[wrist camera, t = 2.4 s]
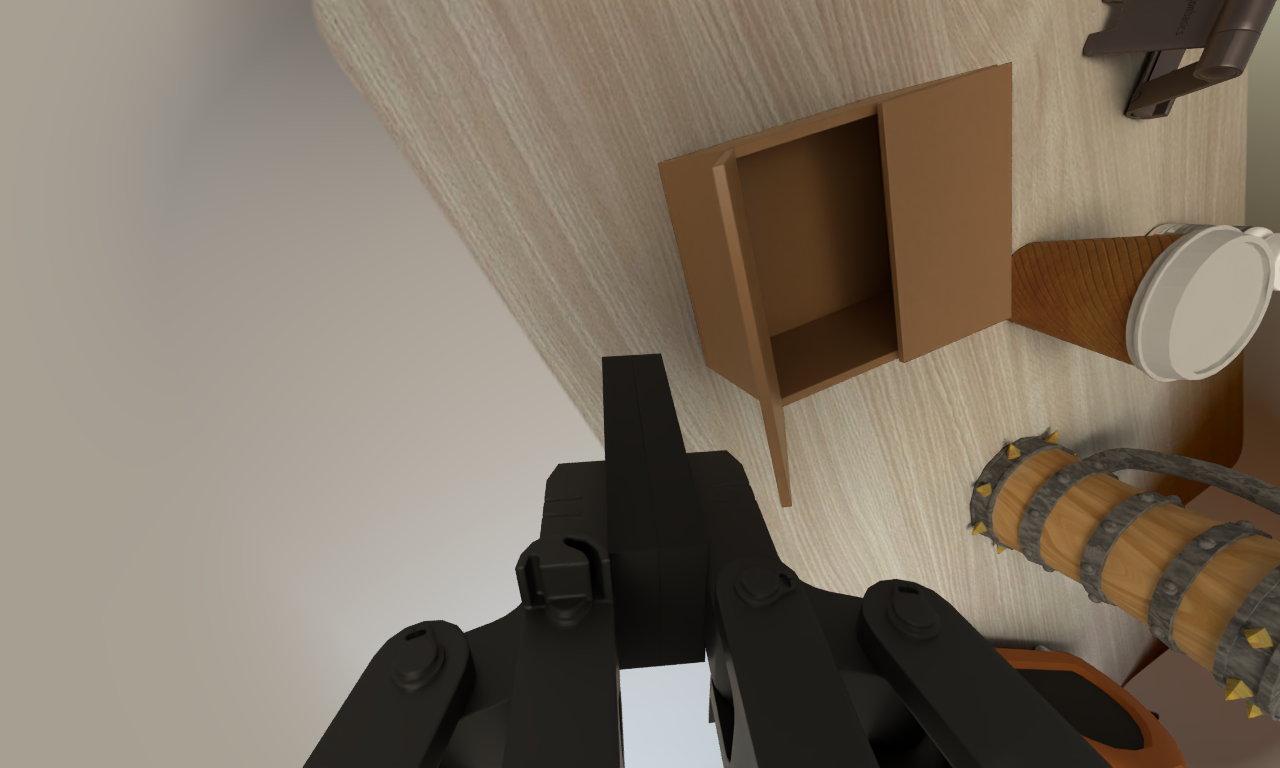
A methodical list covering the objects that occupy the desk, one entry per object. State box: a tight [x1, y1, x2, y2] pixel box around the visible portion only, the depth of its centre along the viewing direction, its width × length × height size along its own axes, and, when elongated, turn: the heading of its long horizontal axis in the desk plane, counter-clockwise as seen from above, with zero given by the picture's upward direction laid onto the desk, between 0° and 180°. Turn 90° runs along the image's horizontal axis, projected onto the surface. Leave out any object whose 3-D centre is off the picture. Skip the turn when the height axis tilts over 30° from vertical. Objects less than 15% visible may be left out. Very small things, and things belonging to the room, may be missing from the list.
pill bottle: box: [1147, 224, 1280, 291], centre depth 42 cm, size 5×5×8 cm
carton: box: [658, 62, 1012, 406], centre depth 30 cm, size 13×15×9 cm
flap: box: [712, 149, 792, 507], centre depth 22 cm, size 13×7×1 cm
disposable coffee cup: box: [1007, 225, 1275, 381], centre depth 37 cm, size 10×10×12 cm
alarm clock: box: [995, 645, 1186, 768], centre depth 50 cm, size 23×9×17 cm, turn 70°
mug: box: [970, 430, 1280, 721], centre depth 41 cm, size 13×17×20 cm
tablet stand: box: [1084, 0, 1276, 119], centre depth 34 cm, size 9×8×8 cm
